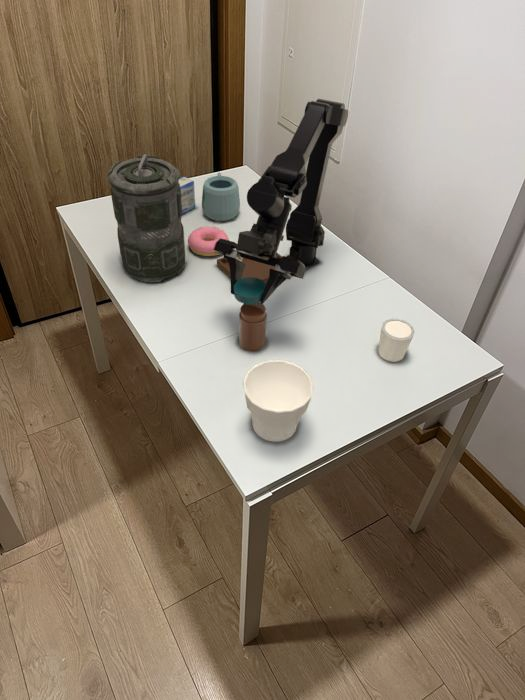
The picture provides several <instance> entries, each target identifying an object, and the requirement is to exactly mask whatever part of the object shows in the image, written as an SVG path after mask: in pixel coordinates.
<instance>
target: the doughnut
mask: <svg viewBox="0 0 525 700" xmlns="http://www.w3.org/2000/svg"><path fill="white" fill-rule="evenodd" d="M220 238H221V239H225V240H229V241H230V239H229V236H228V234H227V233H226V232H225V231H224V230H223V229H221V228H219V227H216V226H201V227H198V228H195V229H194V230H192V231H191V233H189V235H188V236H187V244H188V246H189V248H190V250H191V251H192V252H193V253H195V254H196V255H199V256H202V257H214V256H218V255H221V254H220V253H218V252H216V251H214V247H215V243H216V242H217V241H218V240H219V239H220Z"/></svg>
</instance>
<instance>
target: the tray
mask: <svg viewBox="0 0 525 700" xmlns="http://www.w3.org/2000/svg"><path fill="white" fill-rule="evenodd" d="M253 255H254V254H253ZM255 255H257V254H255ZM276 255H278V256H277V258H278V259H281V258H282V257H283V255H281V254H280V253H278V252H277V253H276ZM257 256H258V255H257ZM264 258H267V257H264ZM267 259H268V260H269V258H267ZM242 262H243V263H245V264H246V265H245V268H244V271H243V274H242V277H241V279H243V278H247V277H255V278H259V279H261V280H262V281H264V282H265V284H267V281H268V279H269V272H270V269H274V270H275V267H273V266H269V265H266V264H262V263H259V262H256V261H252V260H249V259H245V258H243V259H242ZM216 267H217V268H218V269H219V270H220V271H222V273H223V274H224V275H225V276H227V277H228V279H230V280H231V278H230V267H229V263H228V261H227V259H225V258H224V256H222V257H221V258H217V259H216Z"/></svg>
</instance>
